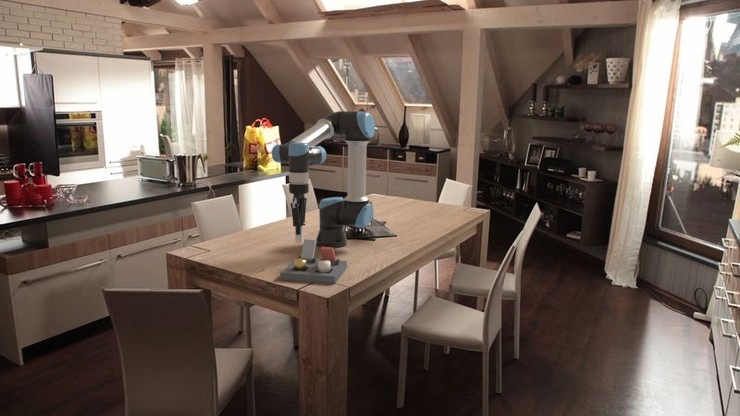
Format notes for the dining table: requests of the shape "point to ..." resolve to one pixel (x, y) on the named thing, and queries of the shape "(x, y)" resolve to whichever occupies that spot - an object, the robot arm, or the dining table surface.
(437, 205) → the dining table surface
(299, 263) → the button brass
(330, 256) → the paddle red
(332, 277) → the panel
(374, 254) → the dining table surface
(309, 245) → the paddle grey
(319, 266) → the button white
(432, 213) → the dining table surface
